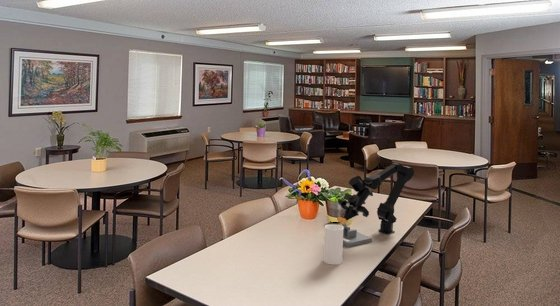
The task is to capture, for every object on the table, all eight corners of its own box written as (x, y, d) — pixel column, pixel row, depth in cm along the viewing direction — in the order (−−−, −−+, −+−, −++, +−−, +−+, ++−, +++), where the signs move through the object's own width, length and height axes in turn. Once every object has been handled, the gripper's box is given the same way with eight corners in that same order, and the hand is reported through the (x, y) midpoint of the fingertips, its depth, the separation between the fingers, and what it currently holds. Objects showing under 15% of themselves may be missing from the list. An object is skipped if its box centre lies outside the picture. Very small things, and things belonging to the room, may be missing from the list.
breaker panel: (348, 231, 236) (348, 222, 235) (371, 241, 221) (372, 231, 220) (325, 236, 227) (325, 226, 226) (348, 247, 212) (348, 236, 211)
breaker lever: (347, 231, 226) (339, 216, 222) (353, 233, 222) (345, 218, 218) (344, 233, 225) (336, 218, 221) (351, 236, 221) (342, 221, 217)
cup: (329, 256, 200) (330, 223, 198) (345, 260, 195) (346, 226, 193) (320, 261, 193) (321, 227, 191) (336, 266, 188) (338, 231, 186)
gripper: (341, 184, 229) (324, 207, 224) (365, 191, 213) (348, 216, 209) (351, 196, 234) (335, 219, 230) (376, 204, 219) (359, 229, 214)
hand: (344, 220), depth 221 cm, fingers closed, pressing on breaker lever
